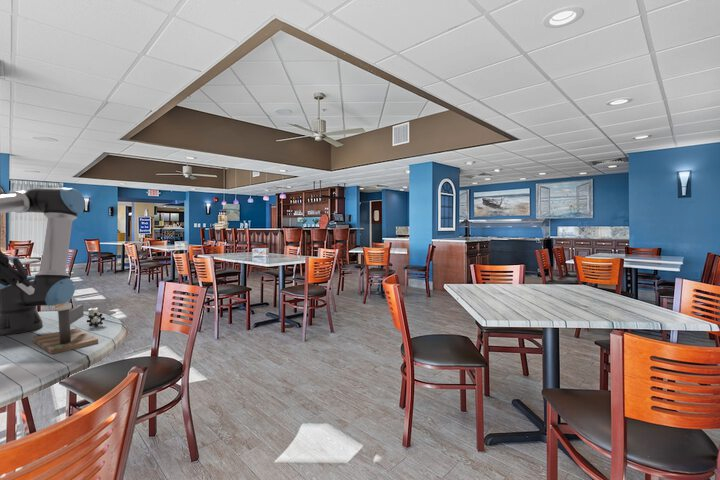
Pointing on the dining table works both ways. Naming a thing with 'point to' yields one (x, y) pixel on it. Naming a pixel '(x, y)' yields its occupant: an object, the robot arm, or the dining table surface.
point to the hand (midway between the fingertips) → (32, 292)
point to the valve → (94, 317)
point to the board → (54, 346)
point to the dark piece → (67, 319)
